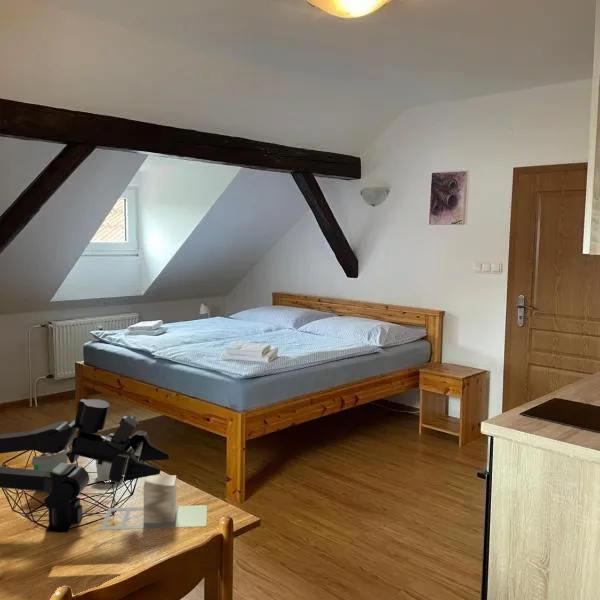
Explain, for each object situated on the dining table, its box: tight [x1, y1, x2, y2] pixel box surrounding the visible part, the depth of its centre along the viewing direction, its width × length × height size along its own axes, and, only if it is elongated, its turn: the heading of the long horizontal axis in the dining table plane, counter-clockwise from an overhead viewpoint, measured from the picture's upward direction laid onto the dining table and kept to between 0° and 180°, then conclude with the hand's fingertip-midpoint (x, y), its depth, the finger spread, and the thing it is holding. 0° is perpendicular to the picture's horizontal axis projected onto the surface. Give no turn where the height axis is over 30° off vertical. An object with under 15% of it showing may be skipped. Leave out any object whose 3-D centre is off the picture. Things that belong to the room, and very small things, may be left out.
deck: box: [99, 504, 208, 531], centre depth 146 cm, size 24×11×2 cm, turn 97°
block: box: [143, 474, 177, 523], centre depth 145 cm, size 7×6×9 cm
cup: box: [95, 460, 112, 484], centre depth 171 cm, size 11×8×8 cm
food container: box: [31, 445, 70, 471], centre depth 165 cm, size 12×6×10 cm, turn 168°
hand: (164, 464), depth 141 cm, fingers open, 9 cm apart
